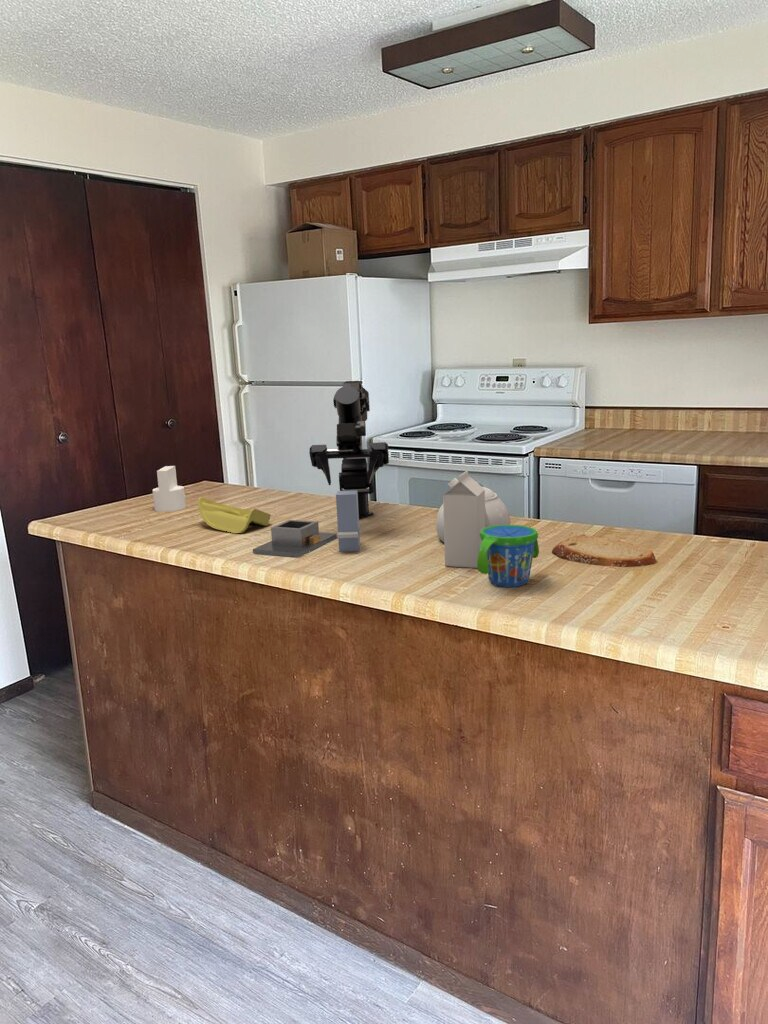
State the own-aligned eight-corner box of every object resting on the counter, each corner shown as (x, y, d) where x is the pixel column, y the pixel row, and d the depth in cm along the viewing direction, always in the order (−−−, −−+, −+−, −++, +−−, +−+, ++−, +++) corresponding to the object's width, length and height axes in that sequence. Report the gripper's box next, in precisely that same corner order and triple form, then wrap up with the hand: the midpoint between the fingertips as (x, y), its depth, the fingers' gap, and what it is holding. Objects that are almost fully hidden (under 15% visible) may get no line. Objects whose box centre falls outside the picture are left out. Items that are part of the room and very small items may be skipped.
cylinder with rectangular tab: (181, 511, 226) (177, 470, 223) (150, 512, 226) (146, 471, 223) (189, 504, 234) (185, 465, 232) (159, 505, 235) (155, 466, 232)
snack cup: (518, 568, 156) (518, 519, 154) (558, 579, 148) (558, 528, 146) (459, 584, 148) (458, 532, 145) (498, 598, 139) (497, 543, 137)
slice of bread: (663, 566, 155) (664, 548, 154) (577, 573, 153) (577, 555, 152) (623, 544, 172) (623, 527, 172) (545, 550, 170) (545, 533, 169)
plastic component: (274, 516, 203) (250, 506, 195) (266, 543, 202) (242, 535, 194) (220, 504, 214) (195, 495, 205) (212, 530, 213) (187, 521, 205)
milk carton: (486, 559, 164) (484, 470, 160) (478, 568, 157) (477, 476, 153) (453, 557, 166) (451, 469, 162) (444, 566, 160) (442, 475, 155)
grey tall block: (341, 543, 181) (338, 489, 178) (360, 543, 181) (358, 488, 178) (338, 554, 172) (335, 496, 170) (358, 553, 172) (355, 496, 170)
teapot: (529, 536, 181) (529, 478, 178) (482, 553, 168) (481, 492, 165) (465, 525, 194) (464, 471, 191) (417, 541, 181) (415, 484, 178)
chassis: (294, 534, 192) (292, 514, 191) (336, 537, 187) (335, 517, 186) (252, 553, 176) (251, 532, 175) (298, 557, 171) (297, 535, 170)
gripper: (307, 411, 184) (304, 464, 176) (386, 408, 183) (387, 461, 175) (313, 440, 193) (311, 492, 185) (388, 437, 193) (389, 489, 184)
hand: (349, 483), depth 182 cm, fingers open, 9 cm apart
